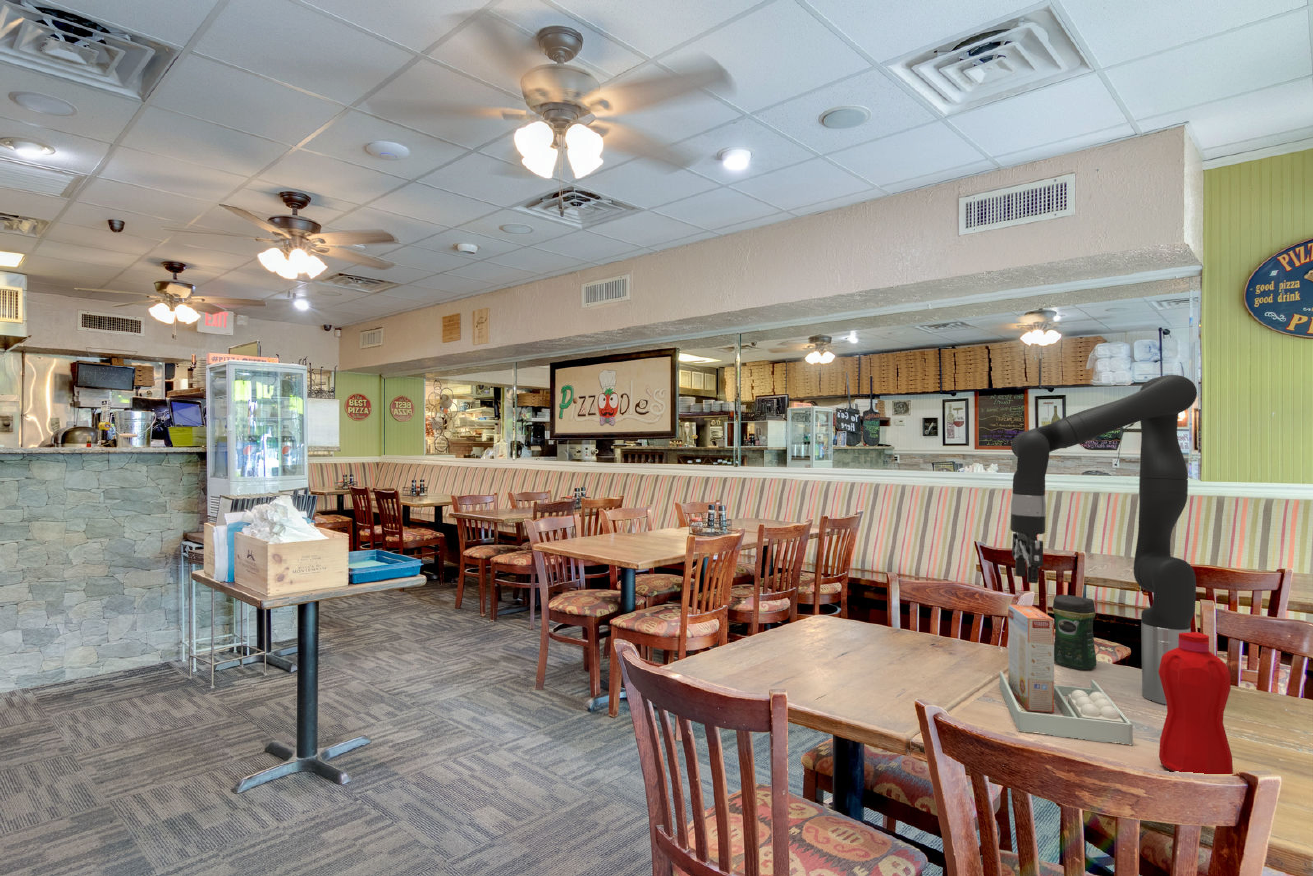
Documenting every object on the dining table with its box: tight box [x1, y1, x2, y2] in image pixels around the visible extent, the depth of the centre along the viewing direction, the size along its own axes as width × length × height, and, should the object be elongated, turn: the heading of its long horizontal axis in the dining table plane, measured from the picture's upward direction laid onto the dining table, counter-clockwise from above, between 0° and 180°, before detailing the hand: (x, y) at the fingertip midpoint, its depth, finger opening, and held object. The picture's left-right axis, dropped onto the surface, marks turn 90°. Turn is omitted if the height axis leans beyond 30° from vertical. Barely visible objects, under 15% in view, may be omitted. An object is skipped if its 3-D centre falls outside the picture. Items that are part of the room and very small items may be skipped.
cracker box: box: [1007, 604, 1055, 714], centre depth 159 cm, size 14×6×21 cm, turn 168°
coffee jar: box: [1052, 594, 1097, 671], centre depth 186 cm, size 10×8×19 cm
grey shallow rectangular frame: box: [998, 670, 1134, 746], centre depth 152 cm, size 20×28×4 cm
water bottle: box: [1158, 631, 1234, 774], centre depth 125 cm, size 9×11×25 cm
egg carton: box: [1067, 690, 1124, 723], centre depth 144 cm, size 7×14×6 cm, turn 160°
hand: (1026, 579), depth 169 cm, fingers open, 8 cm apart
